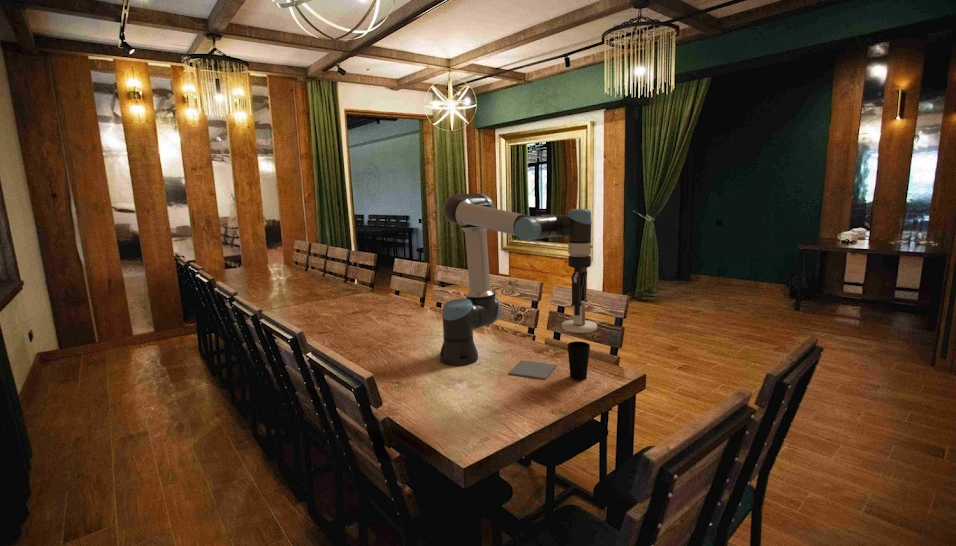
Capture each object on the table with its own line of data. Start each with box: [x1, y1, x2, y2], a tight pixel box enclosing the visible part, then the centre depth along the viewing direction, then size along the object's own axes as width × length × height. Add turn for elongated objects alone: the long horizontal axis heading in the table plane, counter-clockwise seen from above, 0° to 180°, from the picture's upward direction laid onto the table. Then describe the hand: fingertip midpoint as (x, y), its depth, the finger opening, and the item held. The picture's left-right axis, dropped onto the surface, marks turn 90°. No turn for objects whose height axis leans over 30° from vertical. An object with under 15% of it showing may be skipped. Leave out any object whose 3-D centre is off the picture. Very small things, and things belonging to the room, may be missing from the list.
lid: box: [561, 300, 598, 334], centre depth 165 cm, size 12×12×9 cm
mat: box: [507, 359, 558, 380], centre depth 177 cm, size 14×14×1 cm
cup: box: [567, 340, 591, 382], centre depth 168 cm, size 8×8×12 cm
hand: (579, 322), depth 166 cm, fingers closed on lid, 4 cm apart
